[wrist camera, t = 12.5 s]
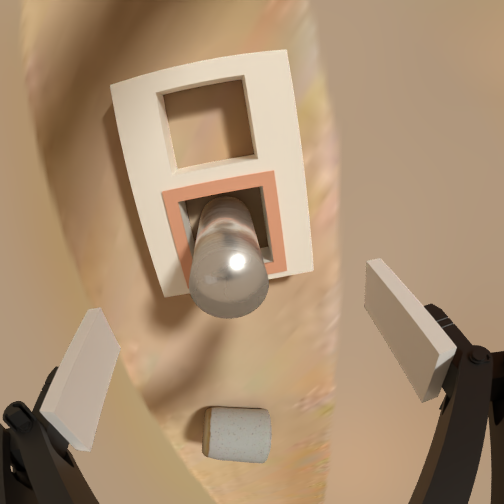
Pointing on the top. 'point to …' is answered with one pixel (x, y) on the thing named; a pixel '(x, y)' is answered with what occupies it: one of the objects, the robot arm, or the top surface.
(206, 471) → the top surface
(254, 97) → the pin board
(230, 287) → the pin
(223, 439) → the ceramic mug
